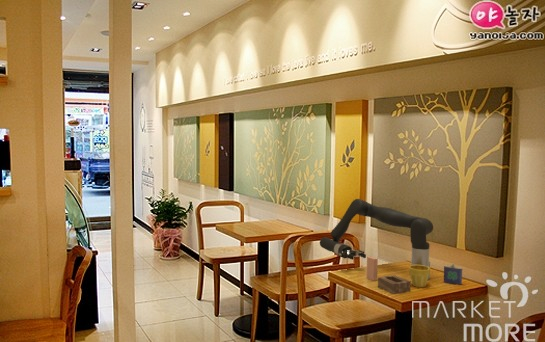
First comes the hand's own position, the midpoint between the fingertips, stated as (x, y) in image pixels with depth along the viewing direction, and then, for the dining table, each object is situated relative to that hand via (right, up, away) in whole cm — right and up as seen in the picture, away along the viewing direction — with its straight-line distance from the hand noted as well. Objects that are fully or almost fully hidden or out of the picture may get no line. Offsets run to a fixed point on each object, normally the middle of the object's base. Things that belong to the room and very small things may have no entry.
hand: (359, 257), depth 270 cm
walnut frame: (+13, -12, -26) cm, 31 cm away
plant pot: (+28, -12, -19) cm, 36 cm away
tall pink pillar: (+5, -10, -9) cm, 15 cm away
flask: (+47, -12, -15) cm, 51 cm away
